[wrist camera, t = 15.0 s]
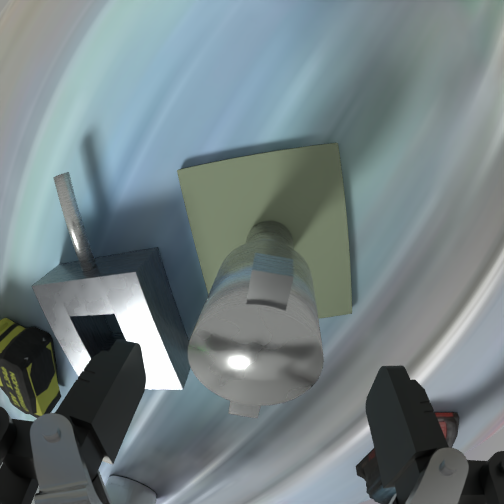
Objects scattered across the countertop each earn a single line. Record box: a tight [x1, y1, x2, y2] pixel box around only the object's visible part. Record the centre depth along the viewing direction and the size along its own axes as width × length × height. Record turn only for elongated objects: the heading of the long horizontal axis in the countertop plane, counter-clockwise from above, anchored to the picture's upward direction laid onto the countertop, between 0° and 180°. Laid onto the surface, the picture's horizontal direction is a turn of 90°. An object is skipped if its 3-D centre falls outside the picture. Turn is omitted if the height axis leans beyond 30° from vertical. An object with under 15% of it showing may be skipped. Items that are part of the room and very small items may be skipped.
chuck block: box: [32, 172, 191, 390], centre depth 21 cm, size 17×10×4 cm, turn 11°
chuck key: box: [188, 221, 324, 418], centre depth 15 cm, size 5×7×11 cm
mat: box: [177, 143, 352, 319], centre depth 20 cm, size 12×10×1 cm
